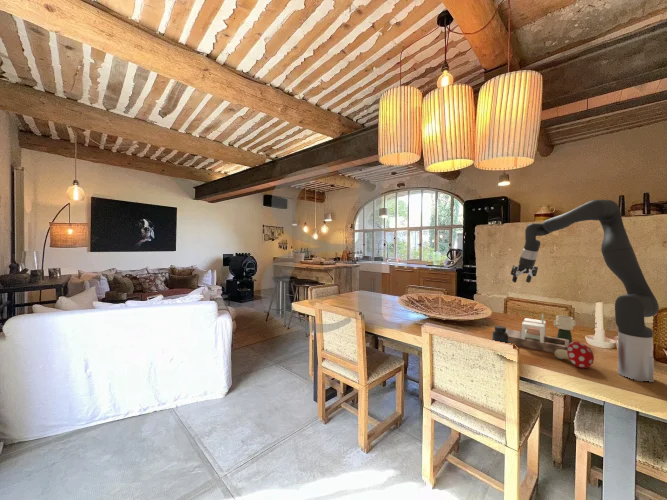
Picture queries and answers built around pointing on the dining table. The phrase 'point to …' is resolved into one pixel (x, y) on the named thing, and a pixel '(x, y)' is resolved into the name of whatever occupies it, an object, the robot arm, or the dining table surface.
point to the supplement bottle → (500, 334)
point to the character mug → (564, 326)
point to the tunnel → (535, 324)
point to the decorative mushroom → (577, 354)
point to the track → (537, 342)
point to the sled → (532, 334)
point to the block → (533, 331)
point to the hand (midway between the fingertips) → (520, 282)
